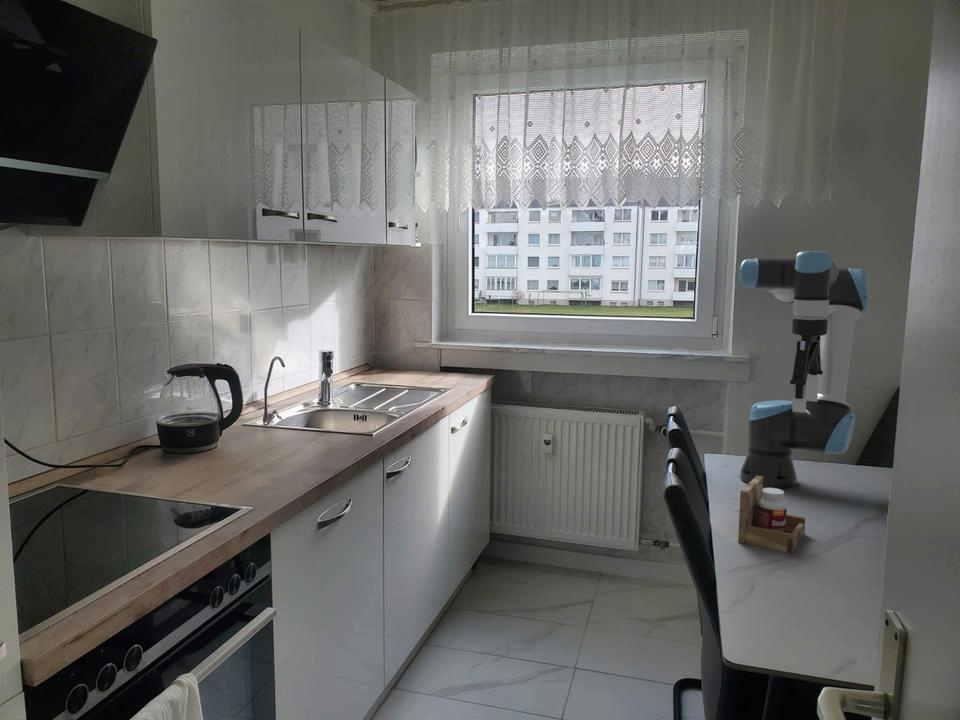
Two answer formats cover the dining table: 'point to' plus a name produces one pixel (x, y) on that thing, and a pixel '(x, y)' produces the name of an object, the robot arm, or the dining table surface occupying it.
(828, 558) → the dining table surface
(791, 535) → the brown wooden l-shaped frame
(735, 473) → the dining table surface
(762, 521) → the pill bottle
